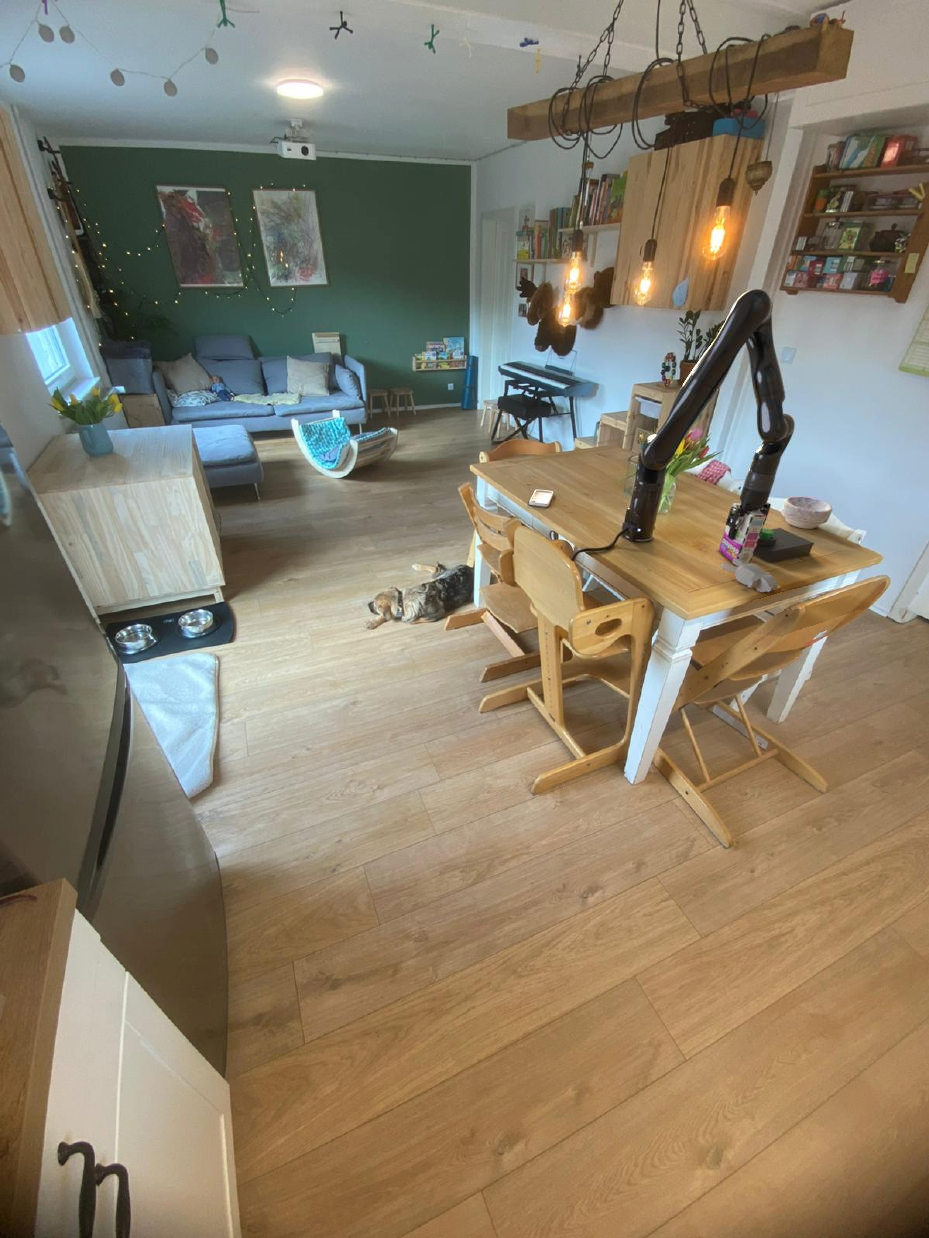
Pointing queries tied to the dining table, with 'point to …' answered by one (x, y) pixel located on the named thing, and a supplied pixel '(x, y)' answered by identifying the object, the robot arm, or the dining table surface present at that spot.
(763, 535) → the button
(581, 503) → the dining table surface
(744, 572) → the bunny figurine
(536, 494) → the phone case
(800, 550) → the black button box
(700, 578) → the dining table surface
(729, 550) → the candy bar box
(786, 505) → the paper bowls
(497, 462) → the dining table surface
